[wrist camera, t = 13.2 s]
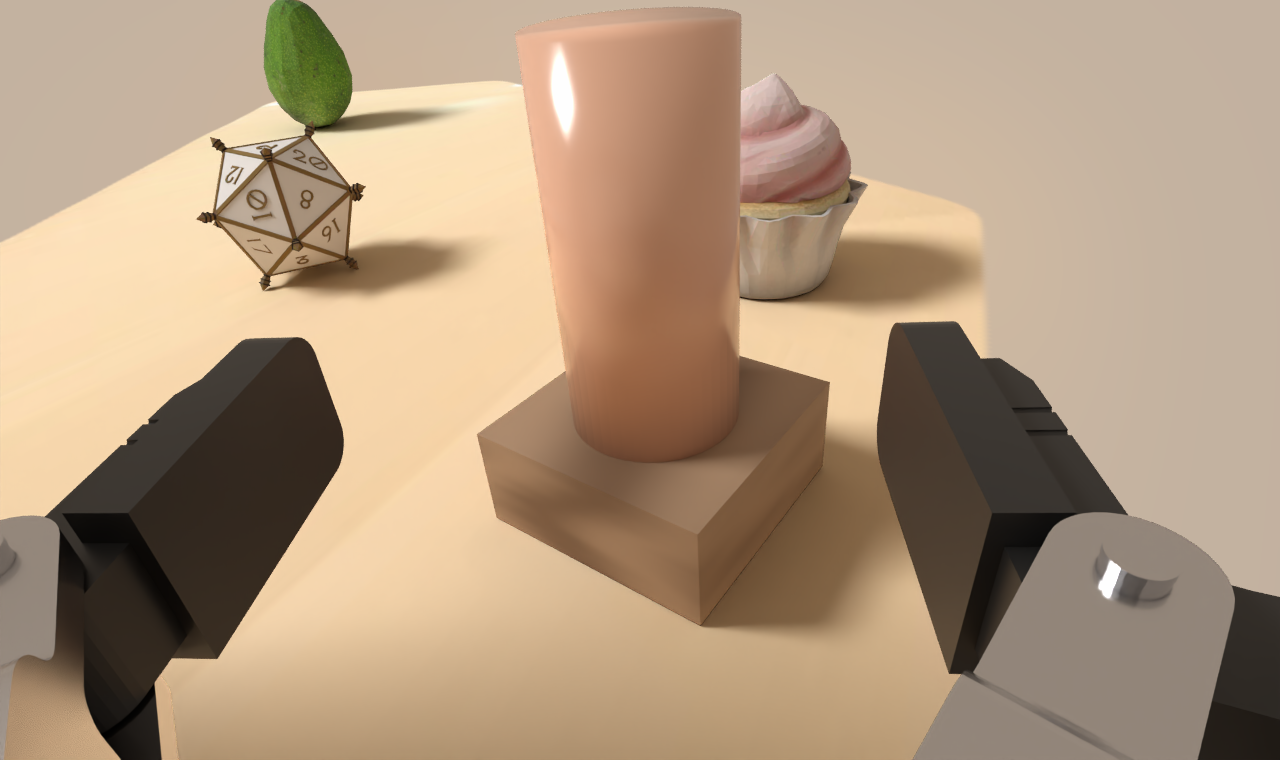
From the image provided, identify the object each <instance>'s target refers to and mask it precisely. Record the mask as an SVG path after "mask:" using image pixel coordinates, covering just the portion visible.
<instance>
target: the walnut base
mask: <svg viewBox="0 0 1280 760" xmlns="http://www.w3.org/2000/svg"><path fill="white" fill-rule="evenodd" d="M829 385H830V382H827V381H823V380H820V379H816V378H813V377H810V376H806V375H803V374H799V373H796V372H793V371H789V370H786V369H782V368H779V367H776V366H772V365H769V364H765V363H762V362H758V361H755V360H752V359H748V358H745V357H741V356H739V415H738V419H737V422H736V424H735V426H734V428H733V429H732V431H731V432H730V433H729V434H728V435H727V436H726V437H725V438H724V439H723V440H722V441H721V442H719V443H718V444H716V445H715V446H713V447H712V448H710V449H708V450H706V451H704V452H702V453H699V454H697V455H694V456H691V457H687V458H684V459H680V460H675V461H668V462H659V463H642V462H631V461H625V460H621V459H617V458H613V457H610V456H607V455H605V454H602V453H600V452H598V451H596V450H595V449H593V448H592V447H590V446H589V445H588V444H586V443H585V442H584V441H583V440H582V439H581V437H580V436H579V435H578V433H577V431H576V429H575V426H574V422H573V416H572V409H571V403H570V396H569V390H568V383H567V376H566V371H565V372H564V373H562V374H561V375H559V376H558V377H557V378H555V379H554V380H552V381H551V382H550V383H548V384H547V385H545V386H544V387H543V388H541V389H540V390H538V391H537V392H536V393H534V394H533V395H531V396H530V397H529V398H527V399H526V400H524V401H523V402H522V403H520V404H519V405H517V406H516V407H515V408H513V409H512V410H510V411H509V412H508V413H506V414H505V415H503V416H502V417H501V418H499V419H498V420H496V421H495V422H494V423H492V424H491V425H489V426H488V427H487V428H485V429H484V430H482V431H481V432H480V433H478V434H477V436H478V441H479V445H480V449H481V453H482V457H483V462H484V466H485V470H486V474H487V478H488V483H489V487H490V491H491V495H492V499H493V504H494V508H495V512H496V516H497V518H499V519H501V520H502V521H504V522H506V523H508V524H510V525H512V526H514V527H516V528H517V529H519V530H521V531H523V532H525V533H527V534H529V535H531V536H533V537H534V538H536V539H538V540H540V541H542V542H544V543H546V544H548V545H549V546H551V547H553V548H555V549H557V550H559V551H561V552H563V553H565V554H566V555H568V556H570V557H572V558H574V559H576V560H578V561H580V562H581V563H583V564H585V565H587V566H589V567H591V568H593V569H595V570H597V571H598V572H600V573H602V574H604V575H606V576H608V577H610V578H612V579H613V580H615V581H617V582H619V583H621V584H623V585H625V586H627V587H629V588H630V589H632V590H634V591H636V592H638V593H640V594H642V595H644V596H645V597H647V598H649V599H651V600H653V601H655V602H657V603H659V604H661V605H662V606H664V607H666V608H668V609H670V610H672V611H674V612H676V613H677V614H679V615H681V616H683V617H685V618H687V619H689V620H691V621H693V622H694V623H696V624H698V625H700V626H701V624H702V623H703V622H704V620H705V619H706V618H707V616H708V615H709V614H710V612H711V611H712V610H713V609H714V607H715V606H716V605H717V603H718V602H719V601H720V599H721V598H722V597H723V595H724V594H725V593H726V592H727V590H728V589H729V588H730V586H731V585H732V584H733V582H734V581H735V580H736V578H737V577H738V576H739V574H740V573H741V572H742V571H743V569H744V568H745V567H746V565H747V564H748V563H749V561H750V560H751V559H752V557H753V556H754V555H755V553H756V552H757V551H758V550H759V548H760V547H761V546H762V544H763V543H764V542H765V540H766V539H767V538H768V536H769V535H770V534H771V532H772V531H773V530H774V529H775V527H776V526H777V525H778V523H779V522H780V521H781V519H782V518H783V517H784V515H785V514H786V513H787V511H788V510H789V509H790V508H791V506H792V505H793V504H794V502H795V501H796V500H797V498H798V497H799V496H800V494H801V493H802V492H803V491H804V489H805V488H806V487H807V485H808V484H809V483H810V481H811V480H812V479H813V477H814V476H815V475H816V473H817V472H818V471H819V470H820V468H821V467H822V462H823V451H824V440H825V429H826V418H827V407H828V396H829Z"/></svg>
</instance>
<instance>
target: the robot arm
mask: <svg viewBox="0 0 1280 760" xmlns="http://www.w3.org/2000/svg"><path fill="white" fill-rule="evenodd" d="M1051 410H1052V407H1051V405H1050V404H1049V402H1048V401H1047V400H1046V398H1045V397H1044V395H1043V394H1042V393H1041V391H1040V390H1039V388H1038V387H1037V386H1036V384H1035V383H1034V381H1033V380H1032V379H1030V378H1029V377H1027V376H1025V375H1024V374H1023V373H1021V372H1020V371H1018V370H1017V369H1015V368H1014V367H1012V366H1010V365H1009V364H1008V363H1006V362H1005V361H1003V360H1002V359H1000V358H987V359H980V357H979V355H978V354H977V352H976V351H975V349H974V347H973V346H972V344H971V343H970V341H969V339H968V338H967V336H966V335H965V333H964V331H963V330H962V328H961V327H960V325H959V324H958V323H957V322H954V321H949V322H911V323H895V324H894V325H893V327H892V329H891V332H890V336H889V342H888V348H887V356H886V363H885V370H884V377H883V385H882V392H881V399H880V406H879V413H878V422H877V445H878V454H879V460H880V464H881V468H882V471H883V474H884V477H885V480H886V483H887V486H888V489H889V492H890V495H891V498H892V501H893V504H894V508H895V511H896V514H897V517H898V520H899V523H900V526H901V529H902V532H903V535H904V538H905V541H906V544H907V547H908V550H909V553H910V556H911V559H912V562H913V565H914V569H915V572H916V575H917V578H918V581H919V584H920V587H921V590H922V593H923V596H924V599H925V602H926V605H927V608H928V611H929V614H930V617H931V620H932V623H933V626H934V629H935V633H936V636H937V639H938V642H939V645H940V648H941V651H942V654H943V657H944V660H945V663H946V666H947V669H948V672H949V674H961V676H960V677H959V679H958V680H957V682H956V683H955V685H954V686H953V688H952V690H951V691H950V693H949V695H948V697H947V698H946V700H945V702H944V704H943V706H942V707H941V709H940V711H939V713H938V715H937V716H936V718H935V720H934V722H933V724H932V725H931V727H930V729H929V731H928V733H927V734H926V736H925V738H924V740H923V742H922V743H921V745H920V747H919V749H918V751H917V752H916V754H915V756H914V758H913V760H1280V597H1277V596H1272V595H1268V594H1264V593H1259V592H1254V591H1251V590H1246V589H1243V588H1239V587H1236V586H1232V585H1231V584H1230V582H1229V580H1228V578H1227V576H1226V575H1225V573H1224V572H1223V571H1222V569H1221V568H1220V567H1219V565H1218V564H1217V563H1216V562H1215V561H1214V560H1213V559H1212V558H1211V557H1210V556H1209V555H1208V554H1206V553H1205V552H1204V551H1203V550H1201V549H1200V548H1199V547H1198V546H1197V545H1195V544H1193V543H1192V542H1190V541H1189V540H1187V539H1186V538H1184V537H1182V536H1181V535H1179V534H1177V533H1175V532H1173V531H1171V530H1169V529H1167V528H1164V527H1162V526H1160V525H1158V524H1155V523H1153V522H1149V521H1146V520H1143V519H1140V518H1136V517H1132V516H1128V514H1127V513H1126V511H1125V510H1124V509H1123V507H1122V506H1121V504H1120V503H1119V502H1118V500H1117V499H1116V497H1115V496H1114V494H1113V493H1112V492H1111V490H1110V489H1109V487H1108V486H1107V485H1106V483H1105V482H1104V481H1103V479H1102V478H1101V476H1100V475H1099V473H1098V472H1097V470H1096V469H1095V468H1094V466H1093V465H1092V463H1091V462H1090V460H1089V459H1088V458H1087V456H1086V455H1085V453H1084V452H1083V451H1082V449H1081V448H1080V446H1079V445H1078V443H1077V442H1076V441H1075V439H1074V438H1073V436H1072V435H1068V434H1067V430H1068V429H1067V428H1066V426H1065V425H1064V424H1063V422H1062V421H1061V419H1060V418H1059V417H1058V415H1057V414H1056V413H1055V412H1053V413H1052V411H1051ZM148 420H149V424H143V425H142V426H141V427H140V428H139V429H138V430H137V431H136V432H135V433H133V434H132V435H131V436H130V437H129V438H128V439H127V445H121V446H120V447H119V448H118V449H116V450H115V451H114V452H113V453H112V454H111V455H110V456H109V457H108V458H107V459H106V460H105V461H104V462H103V463H102V464H100V465H99V466H98V467H97V468H96V469H95V470H94V471H93V472H92V473H91V474H90V475H89V476H88V477H87V478H86V479H85V480H83V481H82V482H81V483H80V484H79V485H78V486H77V487H76V488H75V489H74V490H73V491H72V492H71V493H70V494H69V495H67V496H66V497H65V498H64V499H63V500H62V501H61V502H60V503H59V504H58V505H57V506H56V507H55V508H54V509H53V510H52V511H50V512H49V513H48V514H47V515H46V516H45V517H41V516H20V517H13V518H8V519H4V520H0V760H179V757H178V748H177V740H176V731H175V723H174V714H173V705H172V697H171V692H170V688H169V686H168V685H167V683H166V682H165V680H164V679H163V677H162V676H161V673H162V671H163V670H164V668H165V667H166V666H167V664H168V663H169V661H170V660H171V658H193V659H218V657H219V655H220V654H221V652H222V651H223V649H224V648H225V646H226V644H227V643H228V641H229V640H230V638H231V637H232V635H233V633H234V632H235V630H236V629H237V627H238V625H239V624H240V622H241V621H242V619H243V618H244V616H245V614H246V613H247V611H248V610H249V608H250V607H251V605H252V603H253V602H254V600H255V599H256V597H257V596H258V594H259V592H260V591H261V589H262V588H263V586H264V585H265V583H266V581H267V580H268V578H269V577H270V575H271V574H272V572H273V570H274V569H275V567H276V566H277V564H278V563H279V561H280V559H281V558H282V556H283V555H284V553H285V552H286V550H287V548H288V547H289V545H290V544H291V542H292V540H293V539H294V537H295V536H296V534H297V533H298V531H299V529H300V528H301V526H302V525H303V523H304V522H305V520H306V518H307V517H308V515H309V514H310V512H311V511H312V509H313V507H314V506H315V504H316V503H317V501H318V500H319V498H320V496H321V495H322V493H323V492H324V490H325V489H326V487H327V485H328V484H329V482H330V481H331V479H332V478H333V476H334V474H335V473H336V471H337V469H338V468H339V465H340V463H341V459H342V455H343V447H344V438H343V431H342V427H341V423H340V420H339V418H338V415H337V412H336V409H335V407H334V404H333V401H332V398H331V396H330V393H329V390H328V387H327V385H326V382H325V379H324V376H323V374H322V371H321V368H320V365H319V362H318V360H317V357H316V354H315V352H314V350H313V348H312V346H311V345H310V344H309V343H308V342H307V341H306V340H305V339H303V338H299V337H293V338H255V339H245V340H243V341H241V342H240V343H239V344H238V345H237V346H236V347H235V348H234V349H232V350H231V351H230V352H229V353H228V354H227V355H226V356H225V357H224V358H223V359H222V360H221V361H220V362H219V363H218V364H217V365H216V366H215V367H214V368H213V369H212V370H211V371H210V372H208V373H207V374H206V375H205V376H204V377H203V378H202V379H201V380H199V381H198V382H196V383H194V384H193V385H191V386H189V387H187V388H186V389H184V390H182V391H181V392H179V393H177V394H175V395H174V396H173V397H172V398H171V399H170V400H169V401H168V402H166V403H165V404H164V405H163V406H162V407H161V408H160V409H159V410H158V411H157V412H156V413H155V414H154V415H153V416H152V417H151V418H149V419H148Z"/></svg>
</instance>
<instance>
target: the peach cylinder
mask: <svg viewBox="0 0 1280 760" xmlns="http://www.w3.org/2000/svg"><path fill="white" fill-rule="evenodd" d="M515 37H516V44H517V50H518V57H519V64H520V70H521V77H522V83H523V90H524V97H525V104H526V110H527V117H528V124H529V130H530V137H531V144H532V150H533V157H534V164H535V170H536V177H537V183H538V190H539V197H540V203H541V210H542V217H543V223H544V230H545V237H546V243H547V250H548V257H549V263H550V270H551V277H552V283H553V290H554V296H555V303H556V310H557V316H558V323H559V330H560V336H561V343H562V350H563V356H564V363H565V370H566V376H567V383H568V390H569V396H570V403H571V409H572V416H573V422H574V426H575V429H576V431H577V433H578V435H579V436H580V437H581V439H582V440H583V441H584V442H585V443H586V444H588V445H589V446H590V447H592V448H593V449H595V450H596V451H598V452H600V453H602V454H605V455H607V456H610V457H613V458H617V459H621V460H625V461H631V462H642V463H659V462H668V461H675V460H680V459H684V458H687V457H691V456H694V455H697V454H699V453H702V452H704V451H706V450H708V449H710V448H712V447H713V446H715V445H716V444H718V443H719V442H721V441H722V440H723V439H724V438H725V437H726V436H727V435H728V434H729V433H730V432H731V431H732V429H733V428H734V426H735V424H736V422H737V419H738V415H739V327H740V154H741V15H740V14H739V13H737V12H734V11H731V10H726V9H718V8H703V7H664V8H644V9H629V10H617V11H607V12H598V13H591V14H583V15H576V16H570V17H564V18H559V19H553V20H548V21H544V22H540V23H536V24H533V25H529V26H527V27H524V28H522V29H520V30H518V31H517V32H516V33H515Z"/></svg>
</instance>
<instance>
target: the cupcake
mask: <svg viewBox="0 0 1280 760" xmlns="http://www.w3.org/2000/svg"><path fill="white" fill-rule="evenodd" d="M850 170H851V160H850V156H849V153H848V150H847V147H846V145H845V144H844V142H843V141H842V140H841V137H840V133H839V129H838V127H837V126H836V125H835V123H834V122H833V121H832V120H831V119H830V118H829V116H828V115H827V114H826V113H824V112H822V111H820V110H817V109H815V108H812V107H810V106H805V105H800V103H799V101H798V99H797V97H796V96H795V94H794V92H793V91H792V90H791V89H790V87H789V86H788V85H787V84H786V83H785V82H784V81H783V80H782V79H781V78H780V77H779V76H778V75H777V74H775V73H772V74H770V75H769V76H768V77H766V78H764V79H762V80H761V81H760V82H758V83H756V84H755V85H753V86H750V87H747V88H745V89H744V90H743V91H742V92H741V154H740V297H745V298H751V299H783V298H788V297H793V296H797V295H801V294H804V293H807V292H810V291H811V290H813V289H815V288H816V287H817V286H819V285H820V284H821V283H822V282H823V280H824V279H825V278H826V276H827V275H828V273H829V270H830V267H831V264H832V261H833V258H834V255H835V251H836V247H837V243H838V240H839V238H840V235H841V232H842V229H843V226H844V224H845V223H846V221H847V219H848V218H849V216H850V215H851V213H852V211H853V210H854V208H855V206H856V205H857V203H858V200H859V198H860V197H861V195H862V194H863V192H864V191H865V189H866V187H867V186H868V185H867V184H865V183H863V182H859V181H856V180H853V179H849V176H850V173H851V172H850Z"/></svg>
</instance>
